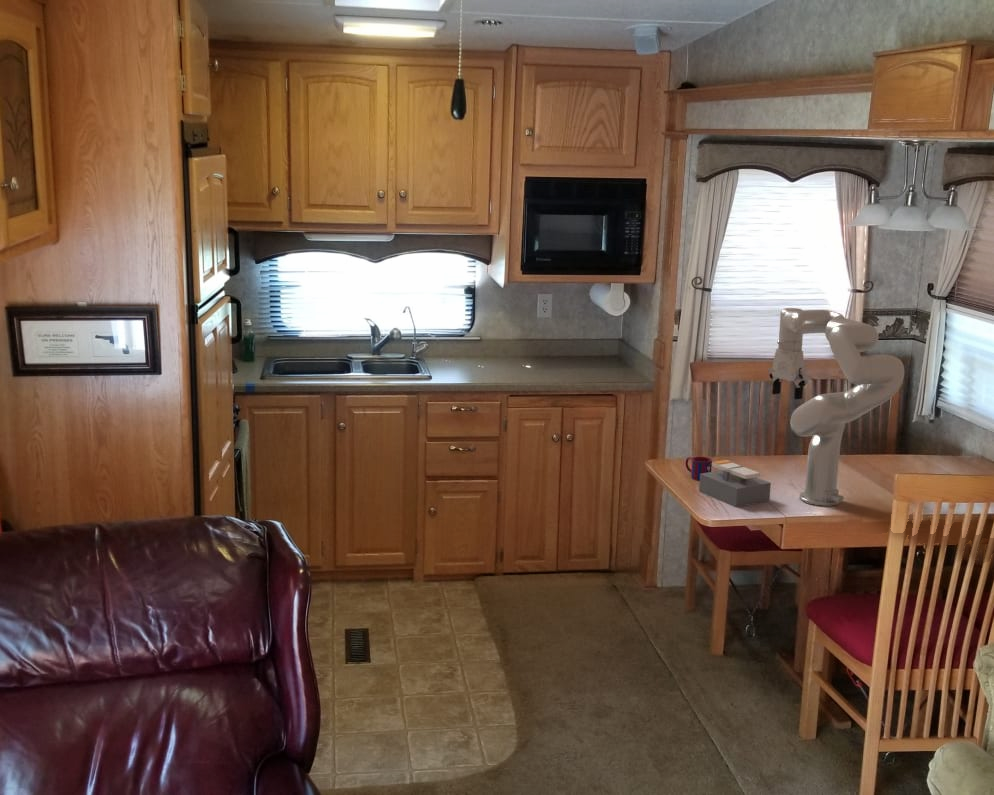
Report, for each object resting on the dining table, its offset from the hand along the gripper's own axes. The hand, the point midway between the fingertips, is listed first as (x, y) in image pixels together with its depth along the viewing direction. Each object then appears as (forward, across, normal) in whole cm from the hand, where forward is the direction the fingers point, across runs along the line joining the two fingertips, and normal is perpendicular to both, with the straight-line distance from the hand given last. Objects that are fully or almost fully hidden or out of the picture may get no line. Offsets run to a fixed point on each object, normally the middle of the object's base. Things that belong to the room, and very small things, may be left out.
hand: (787, 396), depth 342 cm
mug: (+30, -20, -20) cm, 41 cm away
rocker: (+21, +3, -24) cm, 32 cm away
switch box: (+30, +2, -24) cm, 39 cm away
